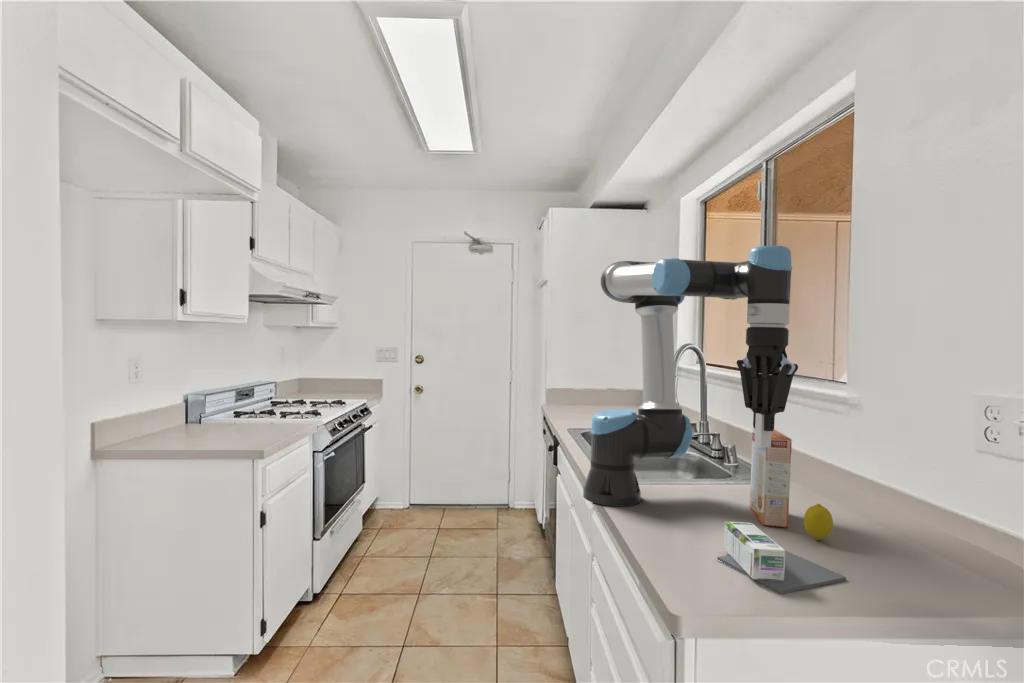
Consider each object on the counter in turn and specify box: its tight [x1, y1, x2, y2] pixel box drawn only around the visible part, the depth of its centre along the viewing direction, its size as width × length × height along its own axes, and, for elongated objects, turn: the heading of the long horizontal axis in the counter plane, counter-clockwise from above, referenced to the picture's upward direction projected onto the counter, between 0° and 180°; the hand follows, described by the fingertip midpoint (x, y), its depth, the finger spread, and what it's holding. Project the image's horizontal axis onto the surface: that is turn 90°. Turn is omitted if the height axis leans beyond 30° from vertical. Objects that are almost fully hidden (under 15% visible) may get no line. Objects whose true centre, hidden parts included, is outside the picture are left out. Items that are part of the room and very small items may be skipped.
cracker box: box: [749, 427, 793, 528], centre depth 135 cm, size 14×6×21 cm, turn 168°
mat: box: [716, 549, 847, 595], centre depth 104 cm, size 15×16×1 cm
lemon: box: [803, 503, 834, 541], centre depth 120 cm, size 6×6×8 cm
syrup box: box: [723, 521, 785, 581], centre depth 105 cm, size 6×6×14 cm
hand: (762, 446), depth 108 cm, fingers closed
